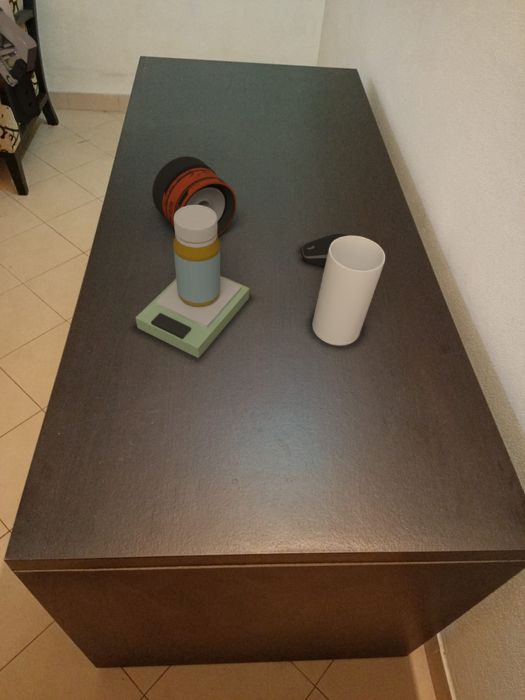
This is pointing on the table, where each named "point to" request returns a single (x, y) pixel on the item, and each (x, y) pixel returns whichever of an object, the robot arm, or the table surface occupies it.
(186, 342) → the scale
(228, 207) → the oil filter
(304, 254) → the computer mouse
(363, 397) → the table surface
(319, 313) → the cup
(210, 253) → the bottle
